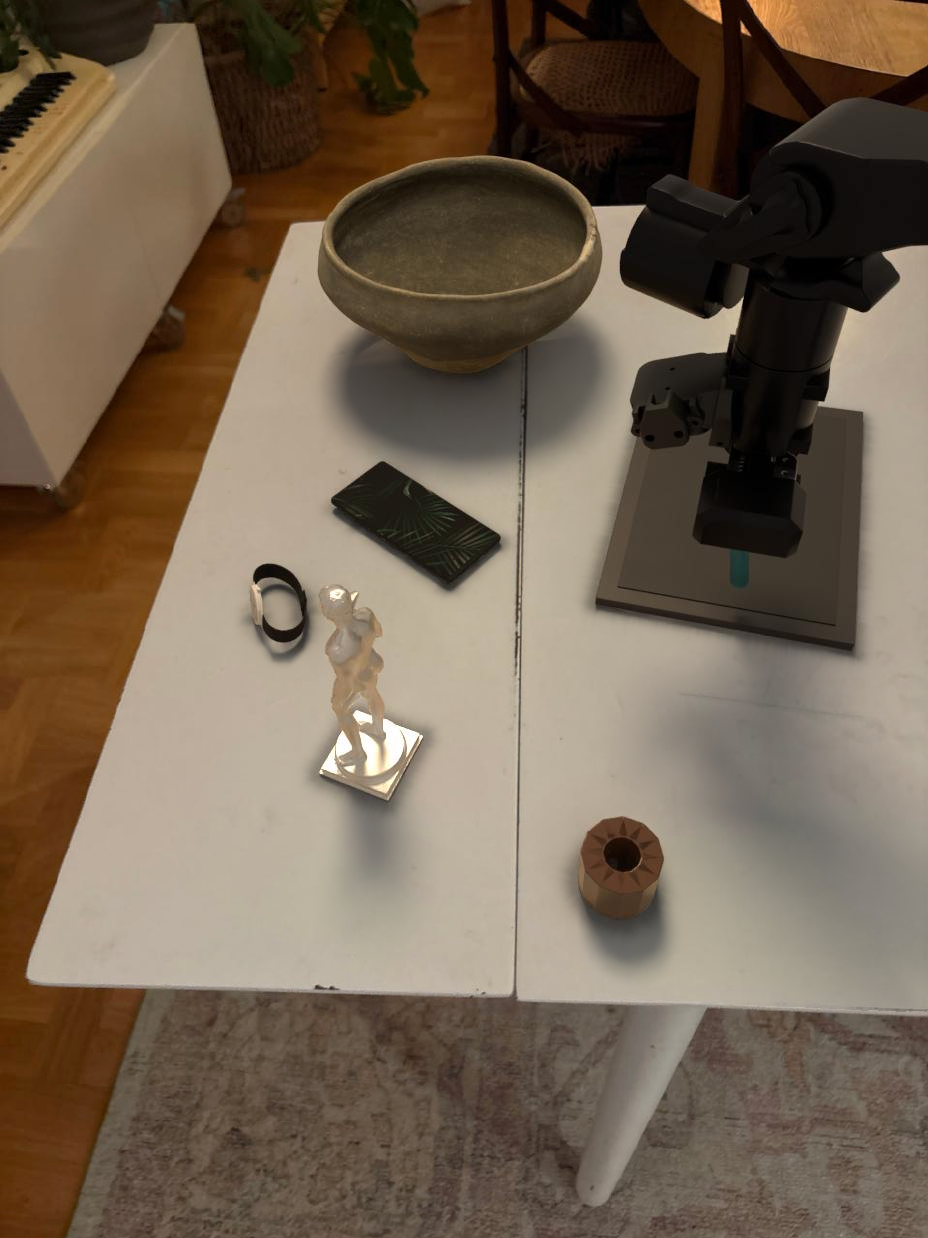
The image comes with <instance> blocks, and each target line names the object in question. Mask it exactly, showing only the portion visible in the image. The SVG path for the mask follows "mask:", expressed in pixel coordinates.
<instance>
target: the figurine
mask: <svg viewBox="0 0 928 1238" xmlns="http://www.w3.org/2000/svg"><path fill="white" fill-rule="evenodd" d="M359 595H360V591H357V590H353V591H349V590H348V589H347V588H346V587H345V586H343V585H341V584H336V583H335V584H334V583H333V584H329V585H324V586H323V587H322V588H320V589H319V592H318V599H319V604H320V607H321V613H322V615H323V617H325V618H326V620H328V621H330V622H331V623H333V624H334V625H335V627H336V628H335V630H334V631H333V632H332V633H331V635H330V636H329V637H328V640H327V642H326V643H325V647H324V648H325V649H324V654H325V655H326V656H327V657H328V661H329V663H330V665H331V668H332V669H333V671H334V674H335V676H336V677H335V680H334V682H333V687H332V692H331V693H332V696H331V698H330V704H331V709H332V711H333V712H334V714H335V715H336V718H337V720H338V724H339V726H340V729H341V732H340V733H339V735H338V737H337V739H336V742H335V745H334V746H333V748H332V750H331V751H330V752H329V754H328V756H327V758H326V759H325V761H324V762H323V764H322V766H321V767H320V770H319V772H318V774H319V775H322V776H324V777H326V778H329V779H331V780H334V781H335V782H339V783H341V784H344V785H347V786H349V787H352V788H354V789H356V790H359V791H362V792H364V793H367V794H369V795H371V796H374V797H377V798H379V799H381V800H385V801H387V802H389V800H390V799H391V797H392V795H393V793H394V792H395V789H396V787H397V786H398V784H399V782H400V780H401V778H402V777H403V775H404V773H405V771H406V769H407V768H408V765H409V764H410V762H411V760H412V758H413V756H414V754H415V753H416V751H417V749H418V748H419V745H420V743H421V742H422V740H423V738H424V736H423V735H422V734H420V733H418V732H416V731H414V730H410V729H409V728H405V727H402V726H399V725H397V724H395V723H394V722H393V721H391V720H389V719H387V718H385V710H386V709H385V708H386V707H385V706H386V705H385V702H384V699H383V697H382V695H380V693H379V691H378V688H377V686H378V685H377V684H378V678H379V676H378V675H379V674H381V672H382V671H383V669H384V666H385V662H384V658H383V657H382V656H381V654H379V652H377V651H376V650H375V649H374V647H373V646H374V643H375V641H376V638H381V637H383V629H382V625H381V624H380V622H379V620H378V619H377V617H376V615H375V613H374V611H373V610H372V609H371V608H369V607H367V606H362V607H359V608H357V609H355V606H356V604H357V601H358V598H359ZM360 696H361V697H363V698H364V699H365V700H366V703H367V707H368V710H369V713H370V714H367V713H365V712H362V711H359V710H355V711H354V713H353V712H352V710H351V709H350V707H351V706H352V705H354V704H356V702H357V701H358V700H359V698H360Z"/></svg>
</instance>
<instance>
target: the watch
mask: <svg viewBox="0 0 928 1238" xmlns="http://www.w3.org/2000/svg"><path fill="white" fill-rule="evenodd" d="M270 578H271V579H277V580H280V581H282V582H284V583H286V584H288V586H289V587H290V588H292V589H293V591H294V592H295V594H296V596H297V598H298V602H299V605H300V612H301V616H302V619H301V620H300V622H299V623H298V624H297V625H296V626H294V627H292V628H289V629H279V628H276V627H274V626H272V625H271V624H269V622H268V621H267V620H266V617H265V614H264V604H263V599H262V597H263V596H262V593H261V588H260V587H259V585H258V583H259V582H260V581H262V580H263V579H270ZM249 601H250V610H251V615H252V618H253V623H254V624H255V625H257V626H258V625H259V626H260V627H261V629H262V630H263V632H264V633H265V635H266V636H267V637H268V638H269V639H270V640H272V641H274V642H276V643H281V644H286V643H291V642H293V641H295V640H296V639H298V638H299V637H300V636H301V635H302V633H303V632H304V630H305V627H306V620H307V619H306V618H307V609H308V608H307V607H308V597H307V594H306V590H305V589H303V588H302V585H301V582H300V581H299V579H298V578H297V576H296V575H295V574H294V572H292V571H291V570H290V569H288V568H287V567H285V566H282V565H280V564H278V563H271V562H270V563H268V562H267V563H262V564H260V565H259V566H257V567H256V568H255V569H254V571H253V574H252V585H250V586H249Z"/></svg>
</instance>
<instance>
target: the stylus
mask: <svg viewBox="0 0 928 1238" xmlns="http://www.w3.org/2000/svg"><path fill="white" fill-rule="evenodd" d="M730 583H731V585H732V586H733V587H734V588H736V589H742V588H745V587H746V586H747V585H748V583H749V552H745V551H739V550H733V549H730Z"/></svg>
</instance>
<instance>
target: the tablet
mask: <svg viewBox="0 0 928 1238" xmlns="http://www.w3.org/2000/svg"><path fill="white" fill-rule="evenodd" d="M711 430H712V429H710V430H709V431H707V432H706V433H704V434H701V435H696V436H690V438H689V441H688V442H687V443H686V445H684V446H680V447H672V448H664V449H655V450H652V449H650V448H648V447H646V446H645V445H644V444H643V441H642V438H641V437H636V439H635V444H634V447H633V451H632V455H631V460H630V463H629V467H628V471H627V475H626V479H625V482H624V486H623V490H622V494H621V497H620V502H619V505H618V510H617V513H616V518H615V521H614V525H613V527H612V528H613V529H612V531H611V532H612V533H611V538H610V539H609V540H610V541H609V544H608V548H607V552H606V556H605V559H604V564H603V567H602V572H601V576H600V579H599V583H598V586H597V591H596V595H595V601H594V604H595V605H596V606H603V607H608V608H613V609H618V610H625V611H630V612H634V613H635V612H636V613H640V614H647V615H651V616H656V617H662V618H668V619H674V620H677V621H678V620H679V621H684V622H690V623H696V624H701V625H706V626H712V627H715V628H716V627H717V628H723V629H728V630H733V631H738V632H745V633H750V634H755V635H760V636H766V637H772V638H777V639H782V640H788V641H789V640H790V641H793V642H794V641H795V642H799V643H805V644H810V645H816V646H821V647H827V648H831V649H832V648H833V649H836V650H837V649H838V650H843V651H850V652H852V651H853V649H854V647H855V645H856V625H857V623H856V621H857V597H858V596H857V593H858V570H859V569H858V567H859V543H860V542H859V539H860V518H861V517H860V515H861V514H860V512H861V489H862V487H861V486H862V485H861V484H862V462H863V461H862V458H863V435H864V434H863V433H864V432H863V431H864V411H861V410H852V409H844V408H838V407H830V406H822V405H818V407H817V410H816V413H815V416H814V420H813V431H812V442H811V446H810V449H809V452H808V455H805V454H798V456H797V457H796V458H797V459H798V466H797V474H799V475H801V484H800V486H801V487H802V488H803V489H804V490H805V491H806V493H807V498H806V509H805V519H804V530H803V535H802V538H801V540H800V543H799V546H798V549H797V552H796V554H794V555H792V556H790V557H788V558H780V557H774V556H768V555H763V554H757V553H751V552H749V583H748V585H747V586H746V587H745V588H742V589H736V588H734V587H733V586H732V585H731V583H730V549H727V548H721V547H715V546H709V545H703V544H699V543H698V542H697V541H696V540H695V539H694V538H693V537H692V533H693V528H694V522H695V517H696V512H697V507H698V502H699V497H700V492H701V487H702V482H703V477H705V472H706V467H707V462H708V461H711V462H718V463H725V464H728V459H729V454H728V453H727V451H726V450H725V449H724V448H721V447H714V446H708V445H709V440H710V435H711Z"/></svg>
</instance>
